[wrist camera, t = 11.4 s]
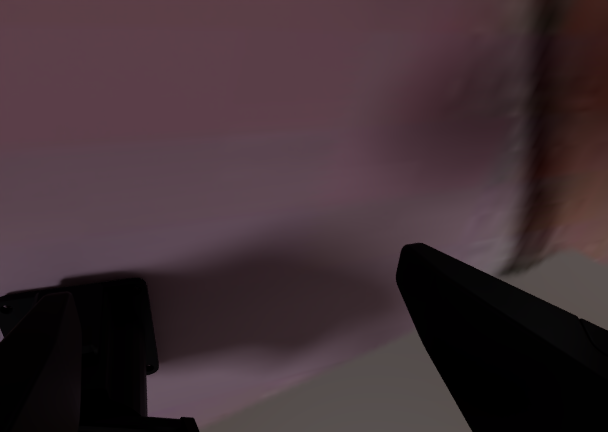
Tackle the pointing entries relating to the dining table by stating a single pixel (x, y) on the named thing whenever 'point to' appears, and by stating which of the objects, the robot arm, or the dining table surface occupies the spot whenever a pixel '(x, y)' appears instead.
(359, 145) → the dining table surface
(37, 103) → the dining table surface
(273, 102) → the dining table surface
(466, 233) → the dining table surface
